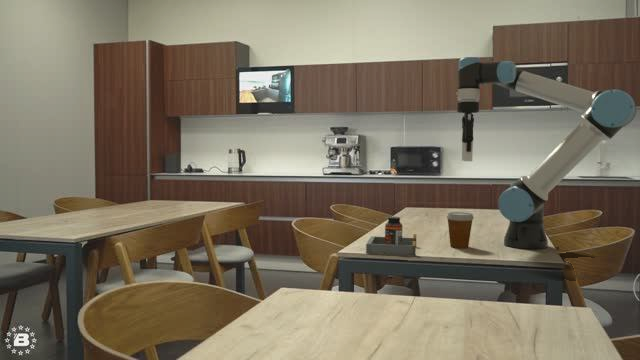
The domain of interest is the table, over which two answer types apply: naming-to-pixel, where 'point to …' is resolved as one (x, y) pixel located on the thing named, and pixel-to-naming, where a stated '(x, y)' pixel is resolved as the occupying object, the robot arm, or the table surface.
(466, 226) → the disposable coffee cup
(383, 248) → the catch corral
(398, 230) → the supplement bottle
